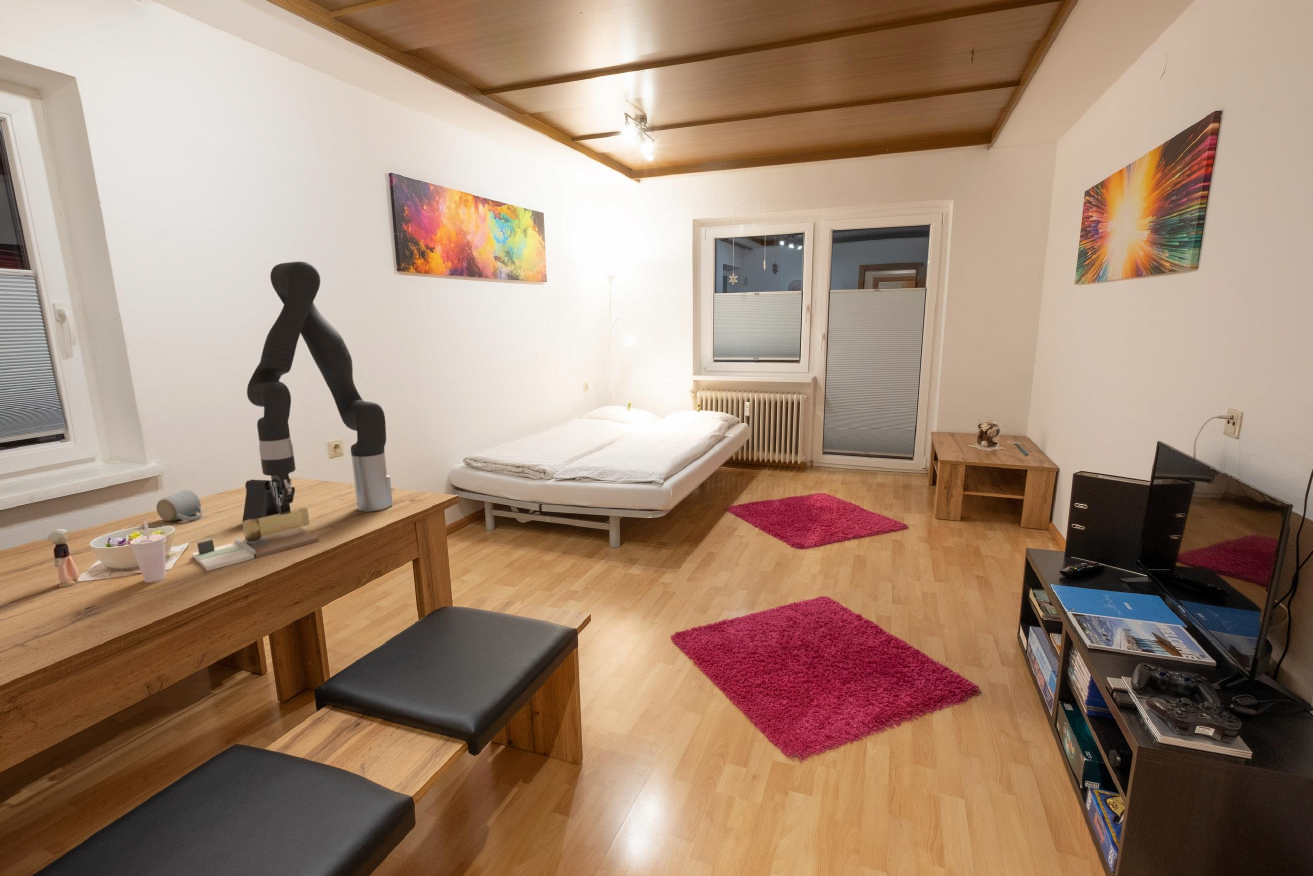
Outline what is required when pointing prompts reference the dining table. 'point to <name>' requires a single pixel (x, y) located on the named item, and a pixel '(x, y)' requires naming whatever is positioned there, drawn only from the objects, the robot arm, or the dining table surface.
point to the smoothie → (150, 555)
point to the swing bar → (275, 523)
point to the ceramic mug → (180, 506)
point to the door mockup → (250, 548)
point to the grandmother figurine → (63, 558)
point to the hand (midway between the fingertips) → (285, 517)
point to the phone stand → (259, 500)
